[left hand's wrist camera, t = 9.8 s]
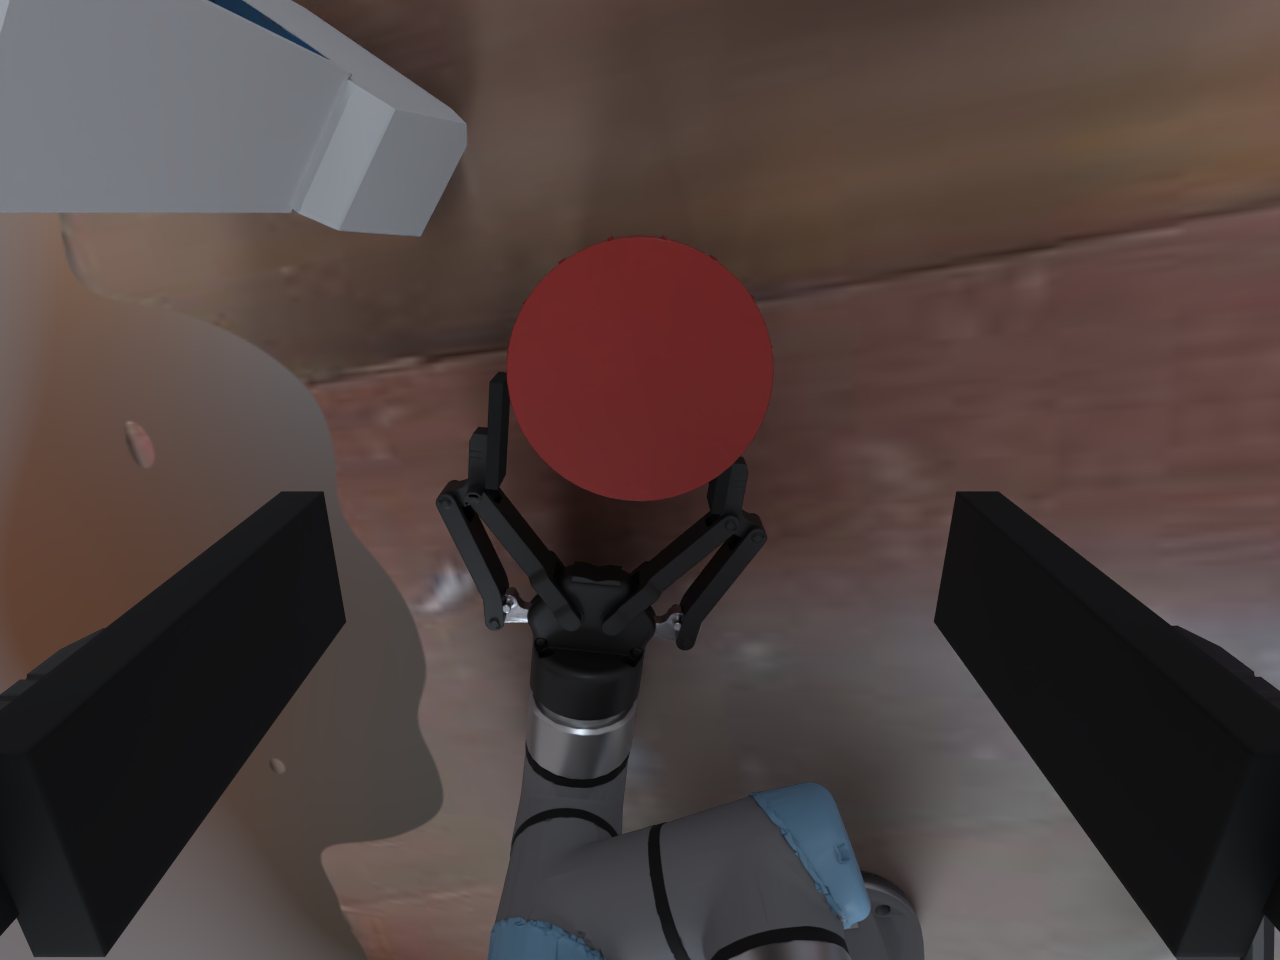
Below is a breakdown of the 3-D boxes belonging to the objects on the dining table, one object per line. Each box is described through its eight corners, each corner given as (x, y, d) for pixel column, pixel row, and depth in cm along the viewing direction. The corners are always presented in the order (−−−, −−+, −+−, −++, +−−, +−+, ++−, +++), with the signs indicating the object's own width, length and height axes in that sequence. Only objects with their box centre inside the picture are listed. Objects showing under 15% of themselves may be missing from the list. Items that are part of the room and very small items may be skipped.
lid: (709, 190, 27) (715, 187, 25) (797, 426, 30) (809, 443, 28) (471, 300, 28) (457, 308, 26) (581, 515, 32) (576, 537, 30)
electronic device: (237, 119, 42) (-591, -74, 14) (286, -6, 39) (-582, -543, 11) (424, 239, 44) (49, 286, 16) (481, 128, 42) (160, -43, 14)
